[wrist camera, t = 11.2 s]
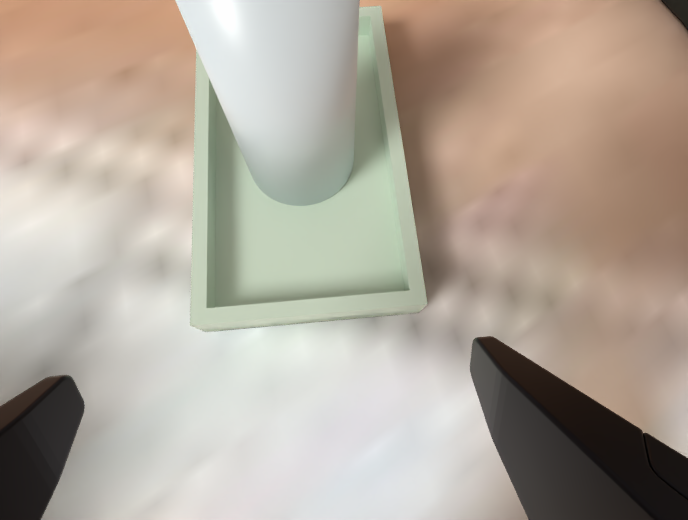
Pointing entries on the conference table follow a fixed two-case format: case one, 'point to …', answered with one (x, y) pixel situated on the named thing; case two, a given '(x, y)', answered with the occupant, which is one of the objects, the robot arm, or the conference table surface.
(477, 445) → the conference table surface
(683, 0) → the network switch
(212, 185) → the tray
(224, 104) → the white rounded capsule
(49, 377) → the robot arm
